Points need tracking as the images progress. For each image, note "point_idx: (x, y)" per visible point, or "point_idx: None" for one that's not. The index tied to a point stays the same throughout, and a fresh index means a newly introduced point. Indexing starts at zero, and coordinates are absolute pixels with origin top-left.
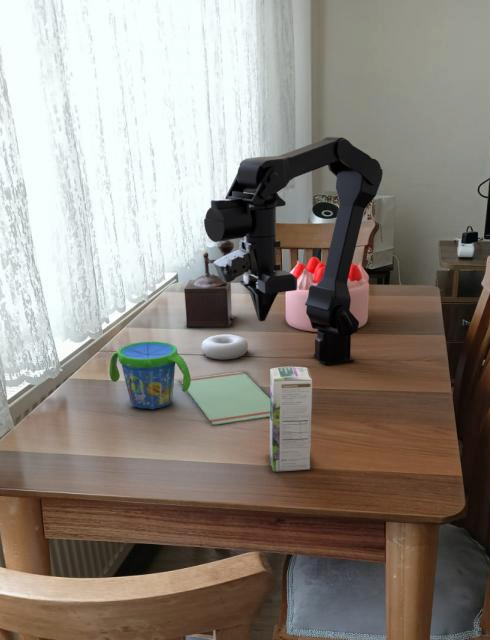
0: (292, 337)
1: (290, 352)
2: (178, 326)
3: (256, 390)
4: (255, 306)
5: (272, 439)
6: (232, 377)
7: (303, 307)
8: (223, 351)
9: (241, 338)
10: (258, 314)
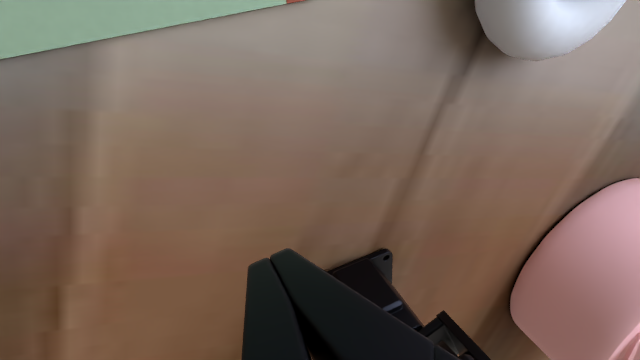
0: (544, 189)
1: (447, 185)
2: None
3: (9, 28)
4: (346, 349)
5: None
6: None
7: (623, 254)
8: None
9: (562, 41)
10: (265, 308)
